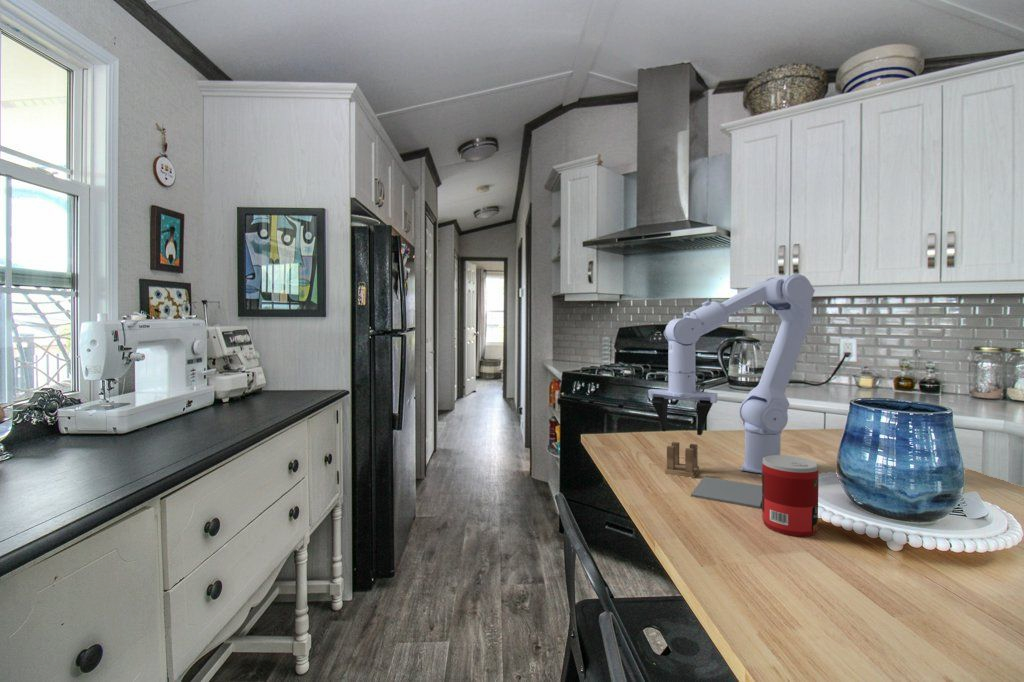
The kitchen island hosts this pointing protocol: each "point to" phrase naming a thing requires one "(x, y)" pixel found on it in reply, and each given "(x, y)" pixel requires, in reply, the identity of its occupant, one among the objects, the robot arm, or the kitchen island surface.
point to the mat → (729, 492)
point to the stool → (690, 461)
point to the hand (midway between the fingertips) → (681, 432)
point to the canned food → (790, 495)
